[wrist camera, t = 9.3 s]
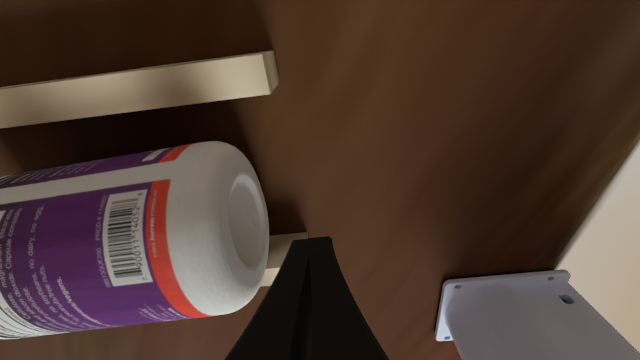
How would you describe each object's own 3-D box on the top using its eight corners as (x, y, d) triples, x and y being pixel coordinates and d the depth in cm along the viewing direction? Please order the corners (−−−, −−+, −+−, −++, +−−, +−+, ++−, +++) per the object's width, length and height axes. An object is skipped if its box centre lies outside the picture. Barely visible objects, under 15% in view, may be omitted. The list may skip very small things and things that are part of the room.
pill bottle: (278, 204, 18) (91, 230, 19) (232, 103, 12) (-31, 149, 14) (268, 335, 13) (7, 361, 14) (176, 262, 7) (-260, 318, 8)
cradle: (273, 50, 13) (262, 54, 10) (310, 247, 19) (309, 282, 16) (-129, 104, 14) (-235, 120, 11) (33, 274, 20) (-9, 310, 17)
